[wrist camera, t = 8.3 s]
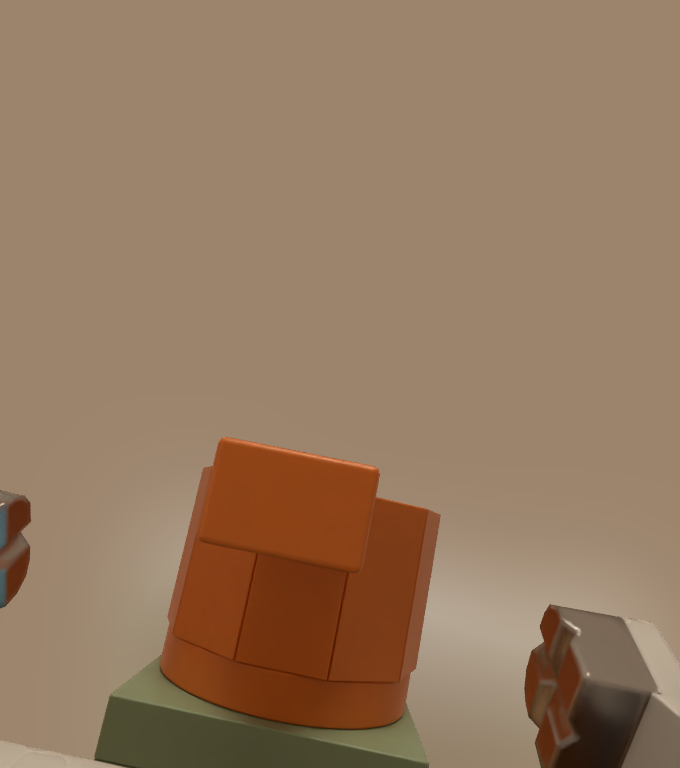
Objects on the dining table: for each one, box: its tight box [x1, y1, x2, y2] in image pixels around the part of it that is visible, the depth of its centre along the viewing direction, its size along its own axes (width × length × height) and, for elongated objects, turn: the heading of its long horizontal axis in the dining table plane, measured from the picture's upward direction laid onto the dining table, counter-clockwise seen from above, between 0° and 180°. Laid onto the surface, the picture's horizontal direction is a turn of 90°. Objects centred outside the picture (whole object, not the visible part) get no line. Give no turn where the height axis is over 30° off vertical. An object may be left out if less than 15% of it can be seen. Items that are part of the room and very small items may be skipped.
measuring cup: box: [160, 437, 440, 729], centre depth 16 cm, size 17×8×6 cm, turn 0°
